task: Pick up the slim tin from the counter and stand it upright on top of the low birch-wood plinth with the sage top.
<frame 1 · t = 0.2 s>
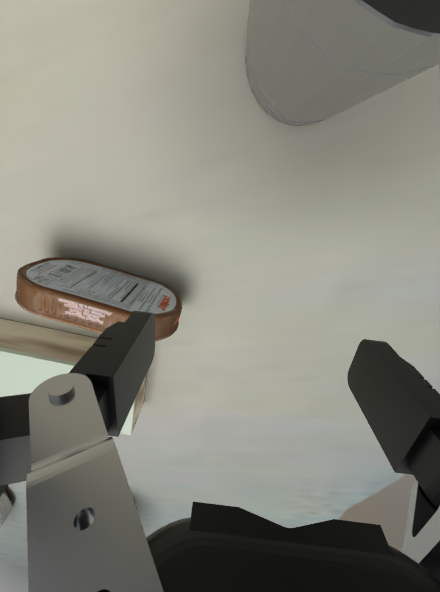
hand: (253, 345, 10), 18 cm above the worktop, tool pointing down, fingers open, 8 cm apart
tin: (122, 277, 29), on the worktop
plinth: (64, 361, 35), on the worktop
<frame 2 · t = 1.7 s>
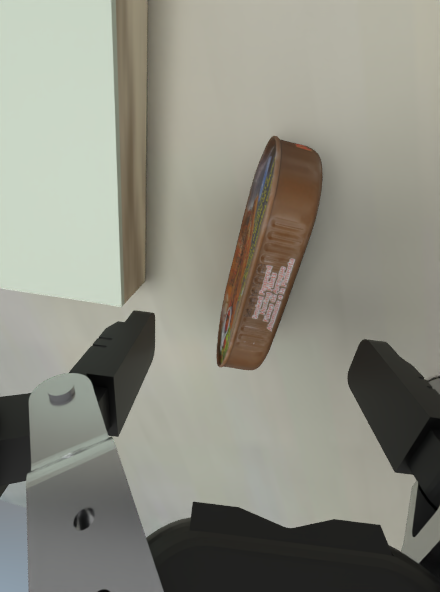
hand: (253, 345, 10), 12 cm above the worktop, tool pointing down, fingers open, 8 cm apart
tin: (254, 251, 22), on the worktop
plinth: (76, 127, 19), on the worktop
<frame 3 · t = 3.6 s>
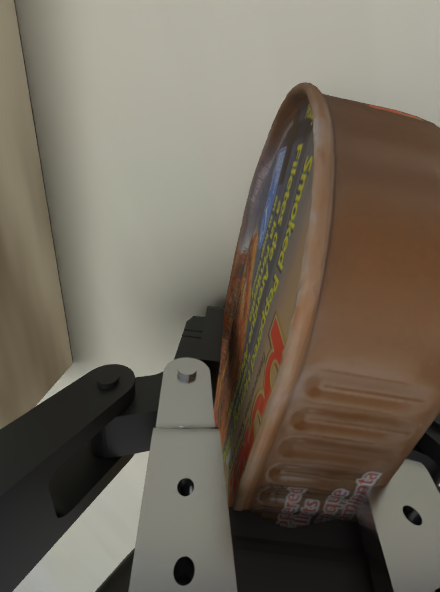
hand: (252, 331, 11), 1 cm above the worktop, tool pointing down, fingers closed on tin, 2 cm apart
tin: (255, 316, 12), on the worktop, touching gripper
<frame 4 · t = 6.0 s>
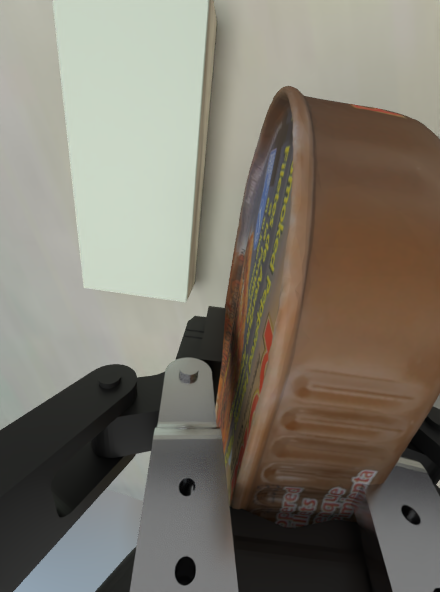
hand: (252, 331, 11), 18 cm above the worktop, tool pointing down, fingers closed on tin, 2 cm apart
tin: (256, 317, 12), point 16 cm above the worktop, touching gripper
plinth: (152, 170, 25), on the worktop
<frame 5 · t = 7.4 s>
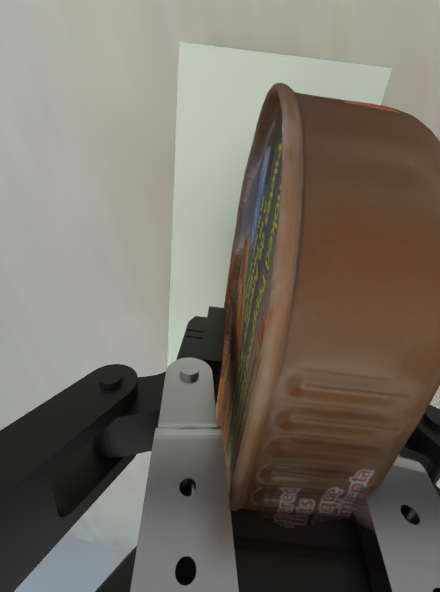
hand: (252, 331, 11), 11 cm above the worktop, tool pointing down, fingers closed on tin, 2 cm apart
tin: (256, 316, 12), point 10 cm above the worktop, touching gripper
plinth: (245, 254, 21), on the worktop
when the fingers open (8 cm above the worktop, at t = 8.5 s): tin drops 1 cm, resting on plinth.
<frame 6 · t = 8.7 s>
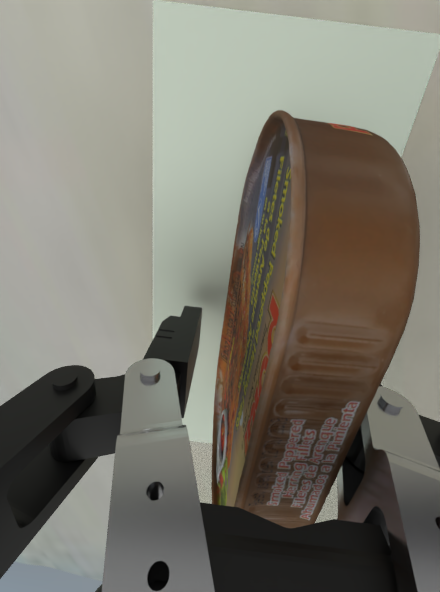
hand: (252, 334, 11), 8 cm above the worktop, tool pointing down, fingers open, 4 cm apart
tin: (255, 305, 14), point 5 cm above the worktop, touching plinth
plinth: (245, 271, 18), on the worktop
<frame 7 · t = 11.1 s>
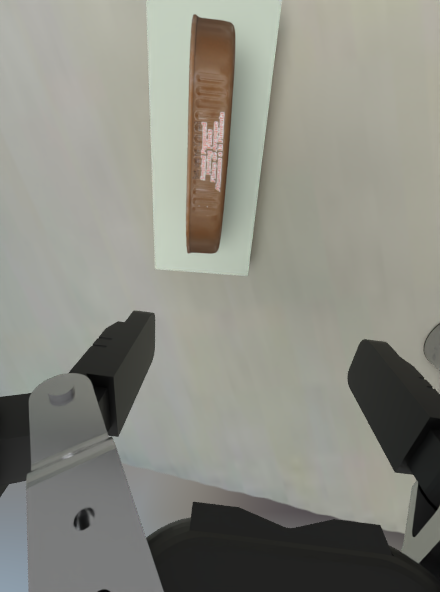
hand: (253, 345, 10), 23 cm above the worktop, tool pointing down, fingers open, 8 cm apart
tin: (211, 159, 24), point 5 cm above the worktop, touching plinth
plinth: (210, 160, 28), on the worktop
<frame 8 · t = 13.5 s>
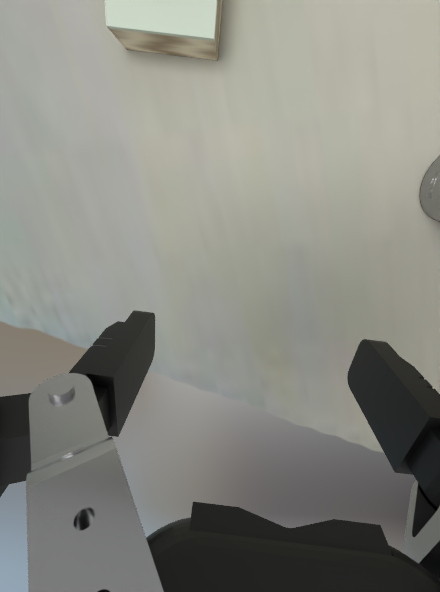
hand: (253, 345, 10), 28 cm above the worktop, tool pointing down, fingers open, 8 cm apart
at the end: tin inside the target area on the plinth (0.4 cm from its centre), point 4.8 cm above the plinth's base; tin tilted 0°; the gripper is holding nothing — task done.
